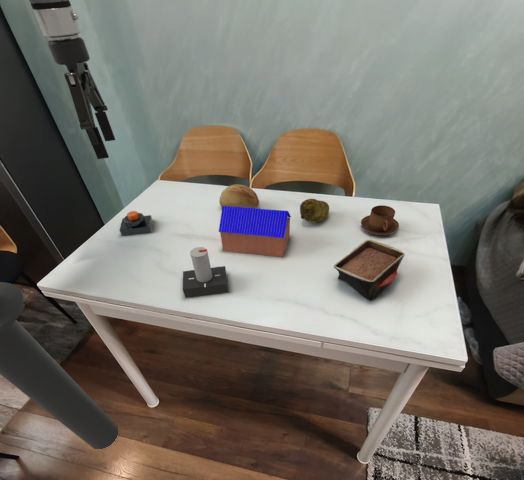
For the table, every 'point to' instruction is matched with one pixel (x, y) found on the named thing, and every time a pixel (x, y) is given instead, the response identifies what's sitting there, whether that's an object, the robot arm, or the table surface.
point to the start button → (133, 215)
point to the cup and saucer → (380, 221)
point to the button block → (136, 225)
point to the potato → (314, 210)
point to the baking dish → (370, 268)
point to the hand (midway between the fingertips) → (107, 148)
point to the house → (254, 230)
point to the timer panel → (205, 283)
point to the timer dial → (201, 264)
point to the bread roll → (239, 197)
